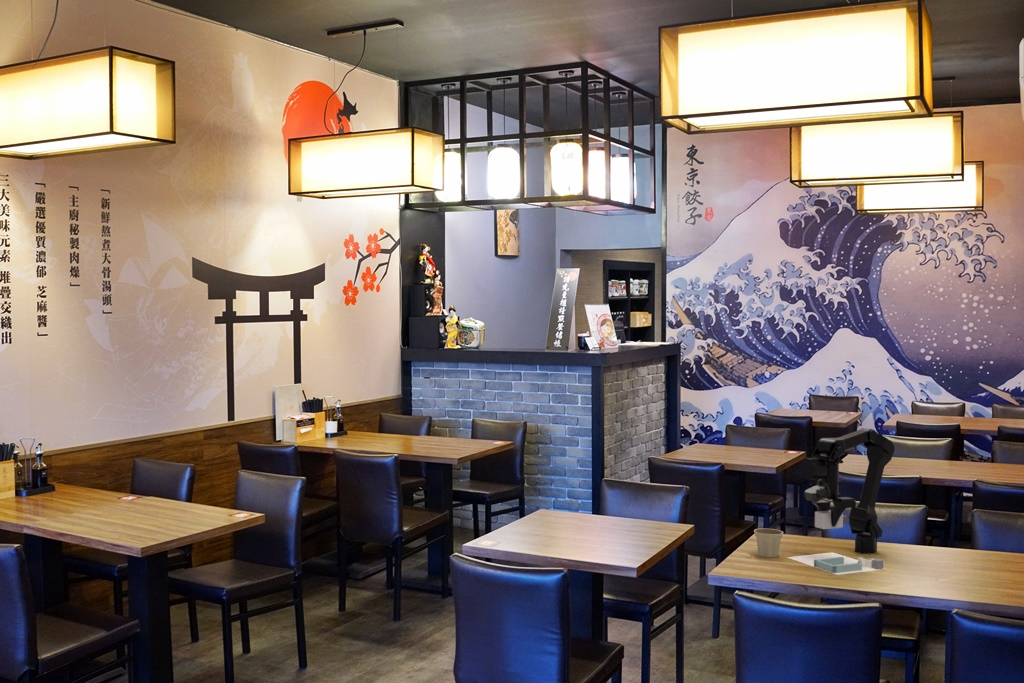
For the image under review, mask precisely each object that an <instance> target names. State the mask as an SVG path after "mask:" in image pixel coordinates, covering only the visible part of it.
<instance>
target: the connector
mask: <svg viewBox="0 0 1024 683" xmlns="http://www.w3.org/2000/svg"><path fill="white" fill-rule="evenodd" d="M844 524H848V516H847V515H844V512H843V513H842V515H841V516H840V518H839V520H838V522H837V524H836V526H835V527H832V523H831V510H830V509H829V510H828V511H818V510H817V511H816V510H815V511H814V528H818V529H821V530H828V529H829V530H831V529H842V528H844Z"/></svg>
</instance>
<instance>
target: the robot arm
mask: <svg viewBox="0 0 1024 683" xmlns="http://www.w3.org/2000/svg"><path fill="white" fill-rule="evenodd" d="M860 445H862V446H863V447H864V448H865V449H866V454H865V455H866V457H867V461H868V464H867V465H868V466H867V470H866V474H865V477H864V481H863V486H862V489H861V490H862V491H861V495H860V499H859V503H858V504H857V501H856V499H855V498H853V497H848V496H842V493H839V492H840V491H839V487H840V486H839V485H842V481H841V480H840V478H839V476H840V475H839V474H840V473H839V470H840V469H839V468H840V464H843V463H844V460H842V459H841V458H840V457H841V456H843V455H845V453H846V451H847V450H849V449H851V448H855V447H857V446H860ZM894 453H895V445H894V442H893V441H892V440H889V438H887V437H885V436H883V435H881V434H880V433H878V432H877V431H876V430H875V429H873V428H867V427H866V428H864V427H863V428H860V429H858V430H856V431H853V432H850V433H846V434H845V435H842V436H839V437H822V438H820V439H819V440H818V442H817V444H816V446H815V449H814V450H813V452H812V454H811V456H810V458H809V457H807V458H806V459H805V462H803V463H802V465H801V468H800V473H801V475H802V477H803V478H804V479H805V480H806V481H810V480H817V481H816V485H814V486H813V485H812V487H809V488H807V489H805V490H804V492H803V500H806V501H808V502H809V501H810V502H811V504H813V505H814V507H816V508H817V511H828V510H831V523H832V527H835V526H836V524H837V522H838V520H839V518H840V516H841V515H842V513H843V514H844V511H845V510H846V509H850V513H849V515H848V516H847V519H848V525H849V527H850V532H851V534H852V535H855V540H854V551H855V553H857V554H858V553H859V554H868V555H869V554H875V553H877V552H878V539H880V538H882V536H883V532H884V531H883V529H882V528H881V526H880V525H879V524H878V514H877V512H876V504H877V499H878V495H879V490H880V487H881V482H882V478H883V475H884V471H885V467H886V466H887V465H888V464H889V462H891V461H892V458H893V455H894ZM831 503H832V504H831Z"/></svg>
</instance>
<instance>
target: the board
mask: <svg viewBox="0 0 1024 683" xmlns="http://www.w3.org/2000/svg"><path fill="white" fill-rule="evenodd" d="M835 557H844V564H852V563H857V562H858V559H855V558H851V557H848V556H847V555H843V554H839V553H836V552H834V551H832V552H822V553H815V554H808V555H807V554H805V555H797V556H788V557H787V556H786V558H788V559H790V560H793V561H796V562H799V563H802V564H804V565H807V566H811V567H813V568H816V569H818V570H821V571H825V572H827V573H830V574H834V575H835V576H836V575H837V576H841V575H847V574H848V575H850V574H857V573H864V572H866V573H867V572H874V571H883V570H885V568H884V567H883V569H875V568H873V567H872V568H870V567H862V570H856V571H847V572H839V573H832V572H829V571H826V570H824V569H821V568H818V567H815V566H814V560H817V559H826V558H835ZM837 565H843V564H837ZM834 566H835V565H834Z"/></svg>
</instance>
